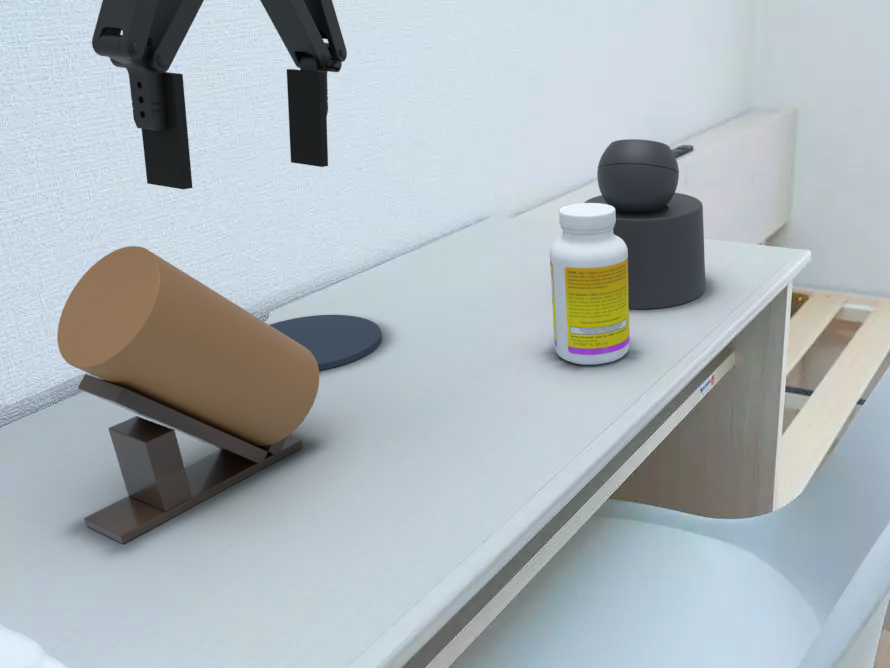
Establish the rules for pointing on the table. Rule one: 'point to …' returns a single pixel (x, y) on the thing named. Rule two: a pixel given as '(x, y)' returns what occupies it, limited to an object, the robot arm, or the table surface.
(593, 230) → the supplement bottle
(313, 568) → the table surface
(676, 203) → the gray pot with base
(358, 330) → the mat
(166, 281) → the paper roll
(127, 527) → the roll stand
